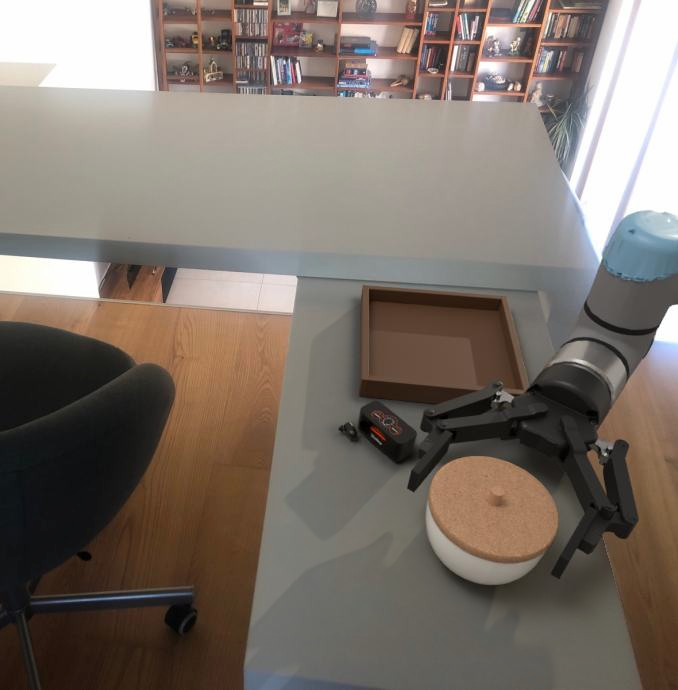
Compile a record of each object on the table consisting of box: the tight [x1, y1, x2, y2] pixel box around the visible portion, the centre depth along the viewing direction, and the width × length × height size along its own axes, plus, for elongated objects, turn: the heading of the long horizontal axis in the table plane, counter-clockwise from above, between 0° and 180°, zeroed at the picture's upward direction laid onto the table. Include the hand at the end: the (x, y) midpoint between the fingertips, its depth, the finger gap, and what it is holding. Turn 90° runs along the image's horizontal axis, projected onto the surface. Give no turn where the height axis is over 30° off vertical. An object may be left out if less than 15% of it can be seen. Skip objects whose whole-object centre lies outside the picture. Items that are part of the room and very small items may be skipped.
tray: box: [358, 284, 530, 411], centre depth 86 cm, size 19×19×3 cm
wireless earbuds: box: [338, 399, 418, 463], centre depth 74 cm, size 5×7×3 cm, turn 35°
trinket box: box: [424, 455, 560, 586], centre depth 62 cm, size 11×11×9 cm
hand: (481, 522), depth 61 cm, fingers open, 13 cm apart
